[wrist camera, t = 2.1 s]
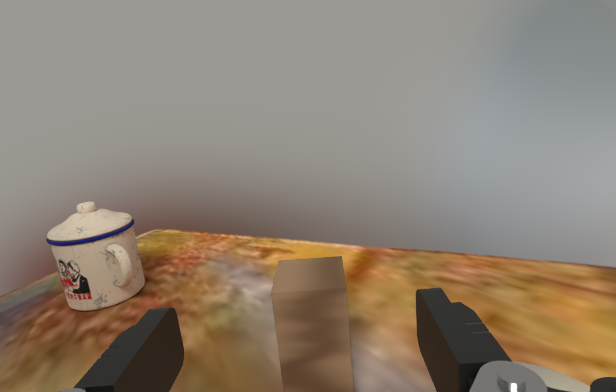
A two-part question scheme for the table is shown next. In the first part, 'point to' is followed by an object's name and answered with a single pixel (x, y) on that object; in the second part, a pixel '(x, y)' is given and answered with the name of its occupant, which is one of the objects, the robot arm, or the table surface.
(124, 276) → the teacup with lid
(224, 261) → the table surface
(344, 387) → the walnut block
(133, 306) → the table surface
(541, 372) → the white plate
